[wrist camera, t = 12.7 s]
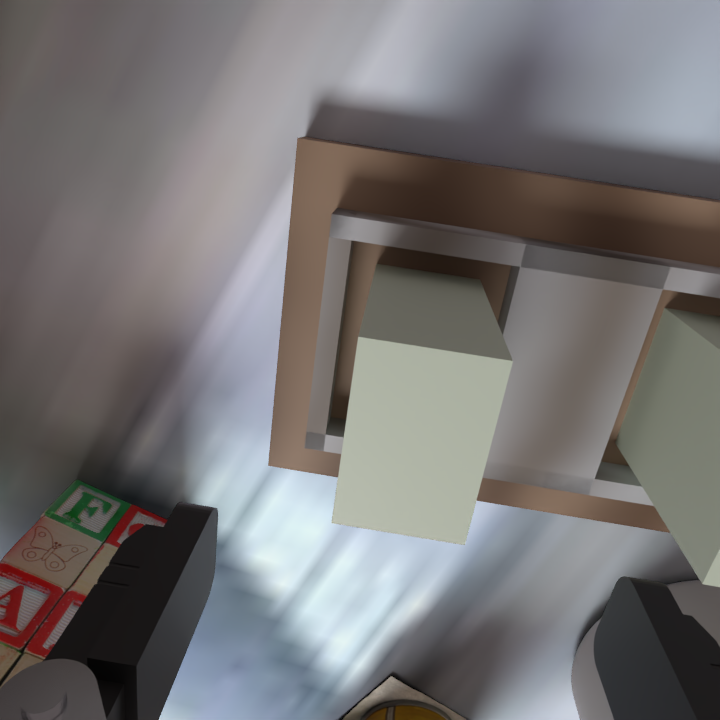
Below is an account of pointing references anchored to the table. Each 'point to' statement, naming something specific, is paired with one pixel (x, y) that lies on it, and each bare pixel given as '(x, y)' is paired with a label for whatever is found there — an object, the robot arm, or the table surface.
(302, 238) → the tray
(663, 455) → the block
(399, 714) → the condiment
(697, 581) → the cylinder vase
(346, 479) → the loose block
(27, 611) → the stack of blocks
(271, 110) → the table surface
